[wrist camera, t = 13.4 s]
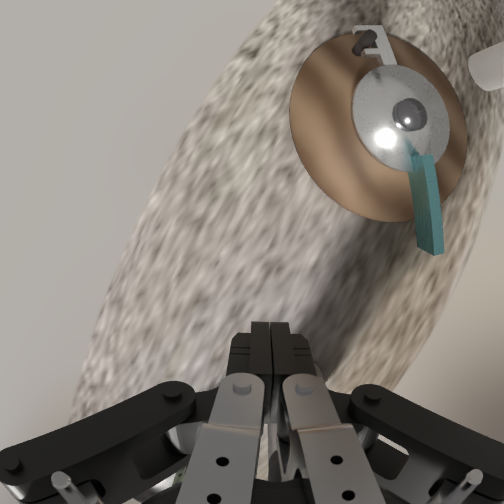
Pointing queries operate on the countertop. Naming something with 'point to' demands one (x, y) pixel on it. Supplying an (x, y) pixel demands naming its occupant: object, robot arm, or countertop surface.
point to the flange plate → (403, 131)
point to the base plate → (345, 139)
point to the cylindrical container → (488, 67)
